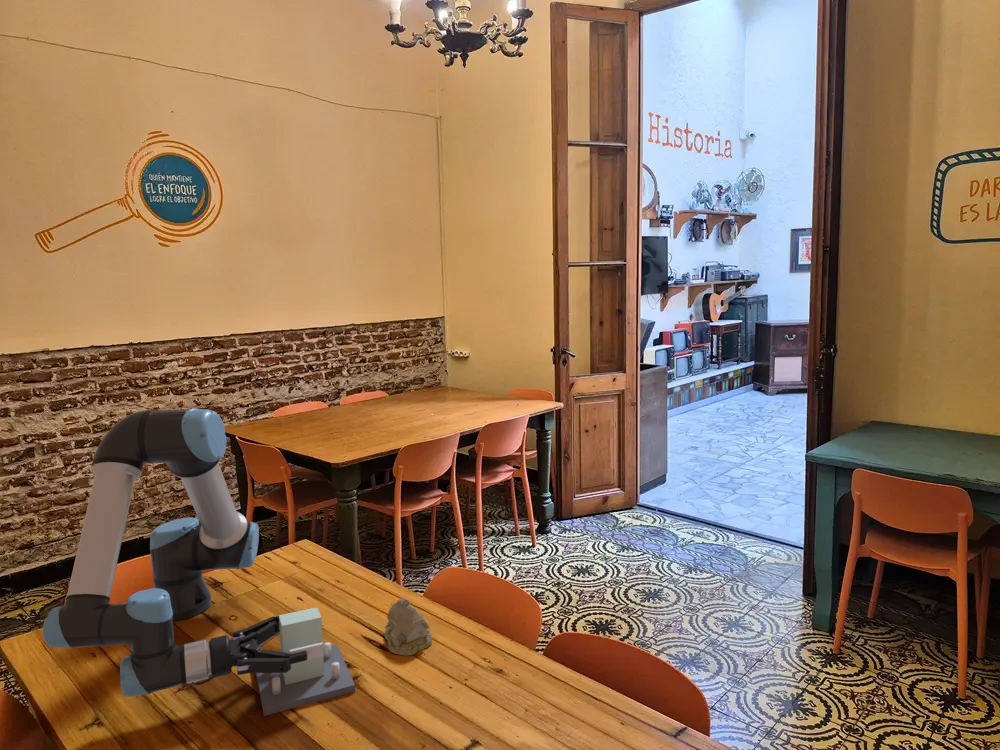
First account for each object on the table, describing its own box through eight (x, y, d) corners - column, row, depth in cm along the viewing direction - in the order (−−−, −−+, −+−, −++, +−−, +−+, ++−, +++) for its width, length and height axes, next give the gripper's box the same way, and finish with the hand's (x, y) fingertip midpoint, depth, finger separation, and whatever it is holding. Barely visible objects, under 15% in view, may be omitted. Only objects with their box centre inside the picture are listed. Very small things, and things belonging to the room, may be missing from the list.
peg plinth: (255, 669, 147) (253, 650, 147) (337, 650, 155) (336, 631, 154) (264, 716, 131) (262, 694, 131) (355, 691, 139) (354, 671, 138)
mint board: (282, 672, 143) (278, 615, 142) (320, 663, 147) (317, 607, 145) (285, 684, 139) (281, 625, 137) (324, 675, 142) (321, 617, 141)
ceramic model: (442, 645, 157) (440, 604, 155) (398, 661, 150) (397, 619, 149) (414, 621, 168) (412, 583, 167) (372, 635, 162) (371, 595, 160)
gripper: (208, 646, 146) (308, 624, 155) (213, 710, 123) (329, 680, 132) (206, 614, 145) (306, 594, 154) (210, 672, 123) (327, 645, 131)
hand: (317, 634), depth 143 cm, fingers open, 13 cm apart
